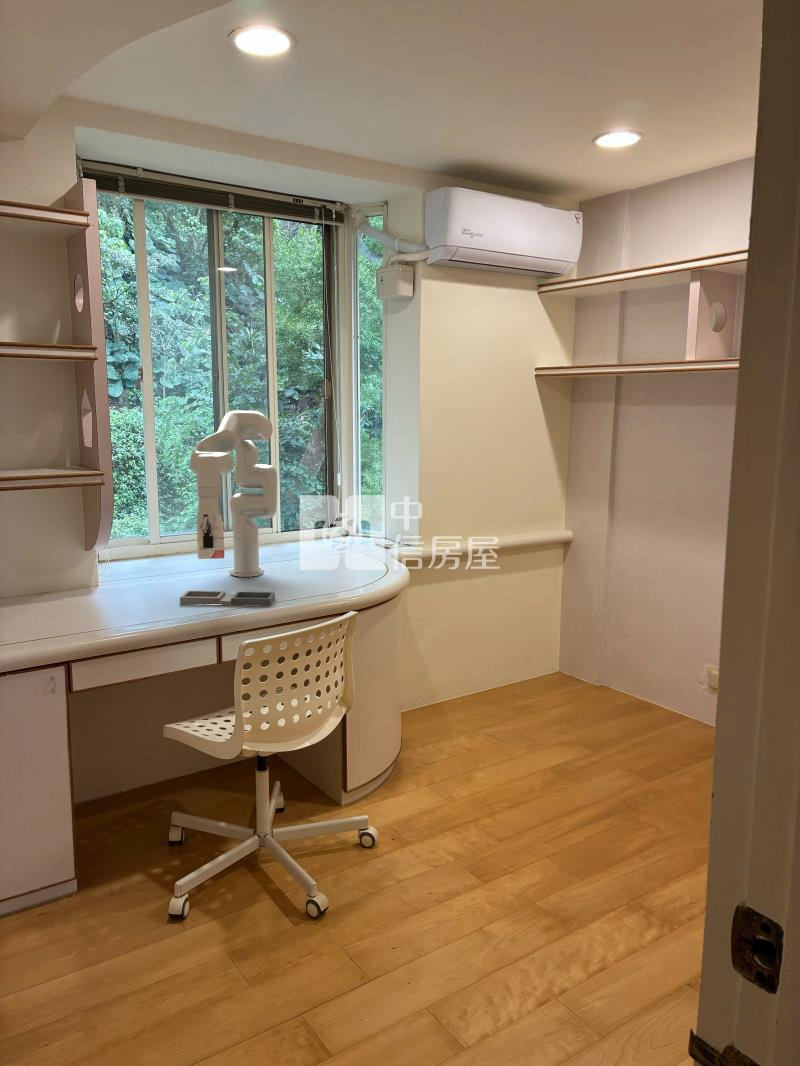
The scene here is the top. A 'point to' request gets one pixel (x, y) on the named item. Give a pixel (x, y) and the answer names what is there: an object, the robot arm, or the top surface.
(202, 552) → the ink cartridge box
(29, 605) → the top surface
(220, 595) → the brown rectangular tray
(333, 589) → the top surface
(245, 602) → the grey tray
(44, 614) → the top surface
